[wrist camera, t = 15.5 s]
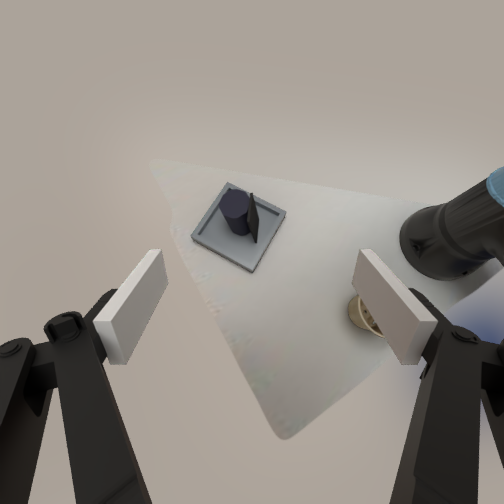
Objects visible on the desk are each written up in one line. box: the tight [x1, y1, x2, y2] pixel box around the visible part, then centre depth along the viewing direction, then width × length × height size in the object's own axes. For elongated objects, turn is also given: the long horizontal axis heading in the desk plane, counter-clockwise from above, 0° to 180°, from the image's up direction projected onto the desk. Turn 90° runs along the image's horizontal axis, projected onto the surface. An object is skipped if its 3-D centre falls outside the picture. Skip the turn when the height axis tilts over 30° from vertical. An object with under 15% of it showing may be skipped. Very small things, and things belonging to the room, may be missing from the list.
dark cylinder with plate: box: [219, 189, 259, 243], centre depth 46 cm, size 8×6×10 cm
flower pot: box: [348, 295, 386, 339], centre depth 43 cm, size 9×9×9 cm
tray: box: [191, 182, 286, 273], centre depth 50 cm, size 14×14×2 cm
